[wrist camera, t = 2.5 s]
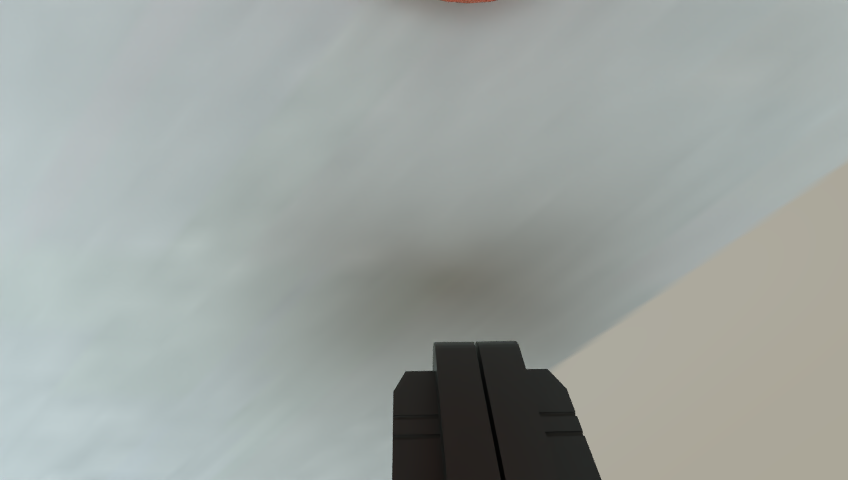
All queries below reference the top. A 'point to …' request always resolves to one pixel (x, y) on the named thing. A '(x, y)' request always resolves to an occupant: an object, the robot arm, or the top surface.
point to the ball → (468, 1)
